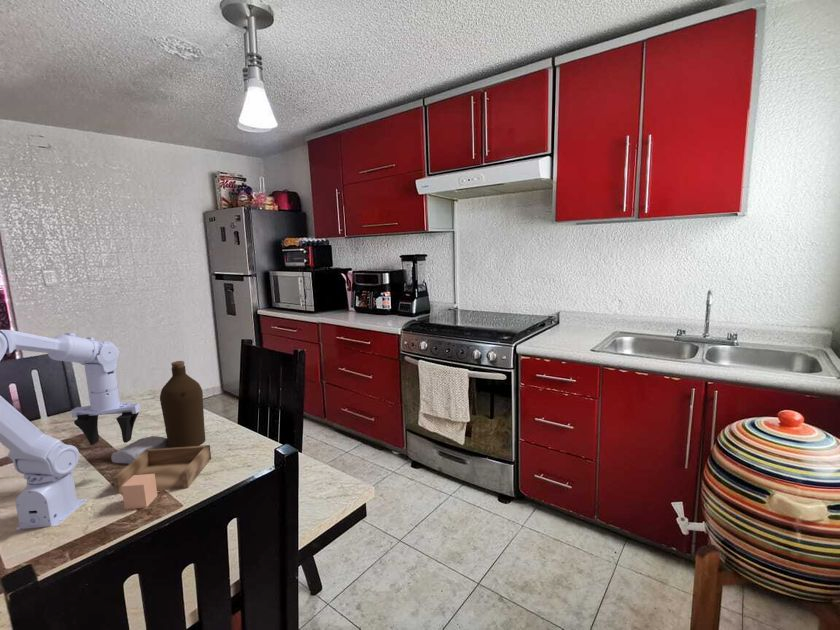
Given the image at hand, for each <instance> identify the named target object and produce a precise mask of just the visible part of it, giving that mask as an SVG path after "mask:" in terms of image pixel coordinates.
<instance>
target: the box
mask: <svg viewBox="0 0 840 630" xmlns="http://www.w3.org/2000/svg"><path fill="white" fill-rule="evenodd" d="M211 460H212V451H211V445H210V444H207V445H206V444H205V445H203V444H202V445H200V446H189V447H175V448H169V447H166V448H162V449H148V450H145V451H144V452H143V453H142V454H140V455H139V456H138V457H137V458H136V459H135V460H133V461H132V462H131V463H130V464H128V465H126V466H125V467H124V468H123V469H121V471H119V472H118V473H117V474H116V475H115V476H114V477H112V482H113V489H114V495H119V494H122V487H121V486H122V485H123V484H125V483H126V482H127V481H128V480H129V479H130V478H131V477H132V476H133V475H144V474H155V480H156V488H157V492H158V491H169V490H179V489H181V490H182V489H189V488H190V486H191V485H192V484H193V483H194V481H195V480H196V479H197V477H198V476H199V475H200V474H201V472H202V471H203V470H204V469H205V467H206V466H207V465H208V464H209V462H210V461H211ZM122 495H123V494H122Z"/></svg>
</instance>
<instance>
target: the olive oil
mask: <svg viewBox="0 0 840 630" xmlns="http://www.w3.org/2000/svg"><path fill="white" fill-rule="evenodd" d="M170 364H171V365H170V366H171V369H170V370H171V375H172V376H171V377H170V379H169V380H167V382H166V383H165V384H164V386H163V387H162V388H161V390H160V394H159V402H160V407H161V412H162V417H163V423H164V428H165V431H164V432H165V433H166V438H167V440H168V447H167V448H175V447H189V446H202V445H203V444H204V443H205V442H206V429H205V417H204V415H205V412H204V393H203V389H202V388H203V387H202V386H201V384H200V383H199V382H198V381H197V380H195V379H194V378H193V377H191V376H190V375H188V374H187V372H186V371H187V370H186V365H185V361H184V360H177V361H173V362H171V363H170Z"/></svg>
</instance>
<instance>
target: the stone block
mask: <svg viewBox="0 0 840 630" xmlns="http://www.w3.org/2000/svg"><path fill="white" fill-rule="evenodd" d="M162 448H169V447H168V440H167V437H163V436H158V435H151V436H146V437H142V438H139V439H137V440H136V441H134V442H131V443H129V444H128V445H127V446H125V447H124V448H122V449H119V450H117V451H114V452H112V453H111V458H110V460H111V462H112V463H117V464H128V465H129V464H130V463H131V462H132V461H133V460H135V459H136V458H137V457H138V456H139V455H140V454H142V453H143V452H144V451H145V450H148V449H162Z"/></svg>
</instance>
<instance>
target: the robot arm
mask: <svg viewBox="0 0 840 630" xmlns="http://www.w3.org/2000/svg"><path fill="white" fill-rule="evenodd" d="M15 350H16V351H24V352H36V353H43V354H44V353H46V354H47V355H48V357H49V358H50V359H52V360H53V361H58V362H60V361H61V362H68V363H69V362H70V363H76V364H80V365H82V366H84V372H85V377H86V384H87V392H88V399H89V405H85V406H77V407H75V408H72V409H71V410H70V411H71V417H72V418H73V419H74V418H76V419H75V420H74V421H73V422H74V425H75V426H76V427H77V428H79V429H80V431H82V433H83V434H84V436H85V438H86V439H87V441H88V443H89V444H90V446H94V445H95V444H97V443H99V441H100V436H99V429H98V427H99V425H98V423H99V416H106V415H119V414H120V415H119V416H117V417H116V421H117V423H118V425H119V428H120V432H121V437H122V442H123V444H125V443H128V442H130V441H131V440H132V436H133V435H132V434H133V429H134V425H135V422H136V420H137V417H138V415H139V412H141V405H140V403H132V402H131V403H130V402H121V400H120V399H121V398H120V394H119V393H120V392H119V386H118V378H117V372H116V370H117V368H118V359H119V358H120V349H118V347H117V346H116V344H114V343H113V342H112V341H107V340H104V341H103V340H96V339H95V337H92V336H88V337H86V338H84V337H80V336H77V335H76V333H73V332H64V334H57V335H56V336H54V337H46V336H44V335H43V336H41V335H37V334H33V333H27V332H22V331H16V330H11V329H0V362H1V360H2V359H3V357H4V356H5V354H8V355H9V354H11V353H13V352H14V351H15ZM0 444H2V445H3V446H4V447H6V448H7V449H8V450H9V452H8V454H7V457H8V458H9V459H10V460H12V463H13V466H14V469H15V470H16V471H17V473H20V474H22V475H23V476H24V480H26V484H25V488H24V489H23V490H22V491H21V492H20V493H19V495H17V497H16V499H15V508H16V514H17V518H18V519H17V520H18V523H19V525H18V526H17V527H16V528H15V531H16V532H17V531H19V530H24V529H25V530H27V529H35V528H45V527H46V528H48V527H56V526H58V525H60V524H61V523H62V522H63V521H64V520H66V519H67V518H68V517H69V516H70V515H72V514H73V513H74V512H75V511H76V510H78V509H79V508H80V506H82V505H83V504H84V503H86V502H87V501H88V498H79V499H78V497H77V492H76V485H75V479H74V474H73V472H74V471H75V469H76V467H77V465H78V463H79V460H80V452H79V449H78V447H76V446H74V445H72V444H65V443H64V442H63V441H61V440H60V439H58V438H55V437H53V436H50V435H48V434H45V433H43V432H42V431H41V430H40V428H38V427H37V426H35V425H34V423H32V421H30V420H29V419H28V418H26V416H24V414H22V413H21V412H20V411H18V409H17V408H16V407H14V406H13V405H12V404H11V403H10V402H8V401H7V400H6V399H5V398H4V397H3V396H1V395H0Z"/></svg>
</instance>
